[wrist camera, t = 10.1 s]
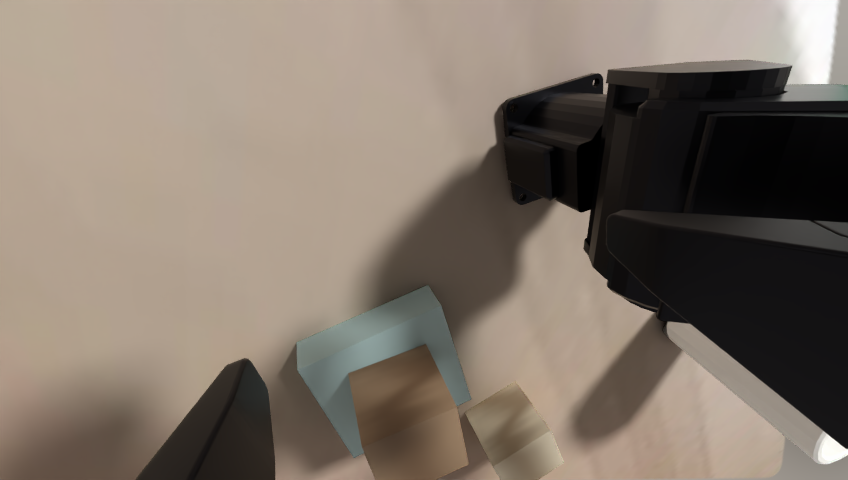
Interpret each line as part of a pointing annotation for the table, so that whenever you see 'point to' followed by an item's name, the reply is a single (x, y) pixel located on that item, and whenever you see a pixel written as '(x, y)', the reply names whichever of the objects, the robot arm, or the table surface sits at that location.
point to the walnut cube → (407, 418)
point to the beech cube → (514, 435)
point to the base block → (376, 355)
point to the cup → (756, 394)
